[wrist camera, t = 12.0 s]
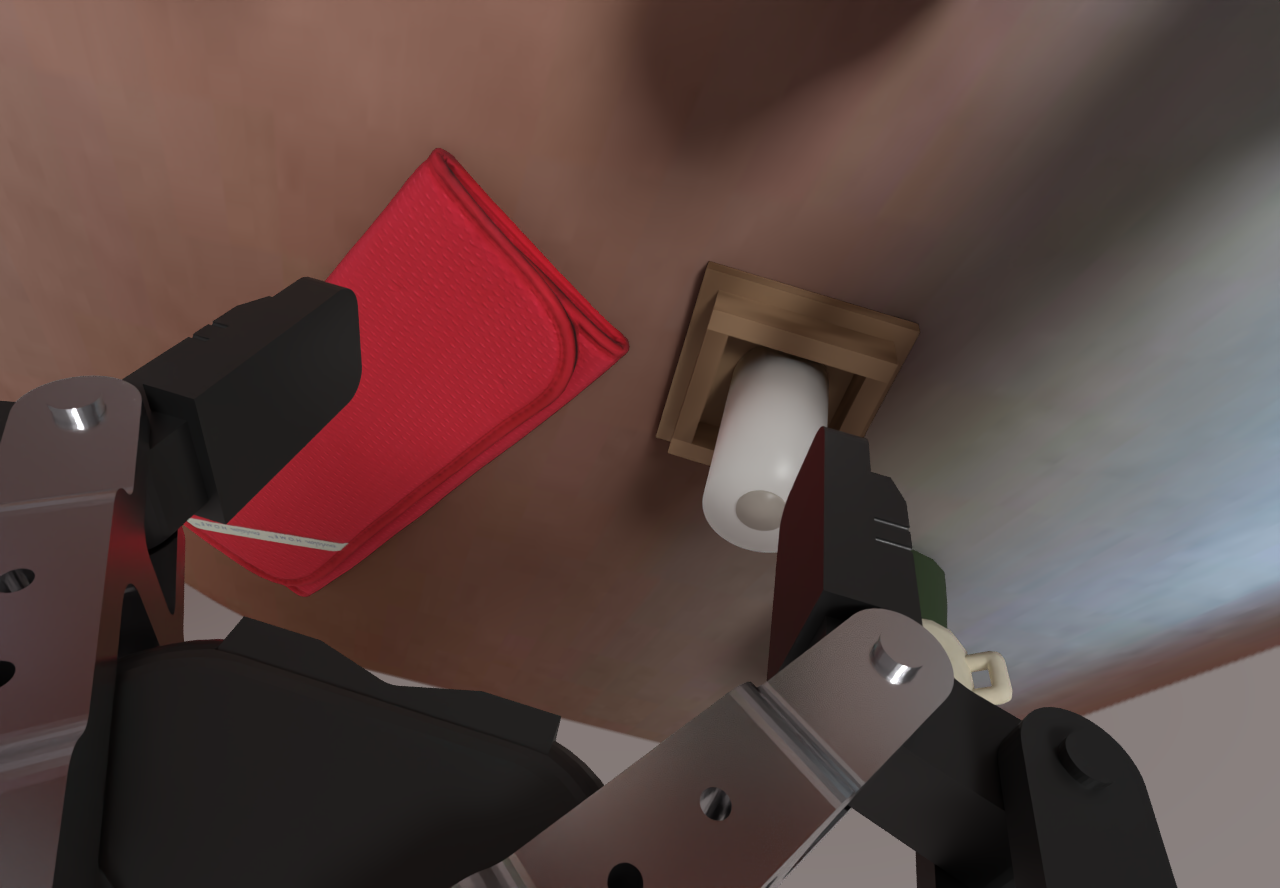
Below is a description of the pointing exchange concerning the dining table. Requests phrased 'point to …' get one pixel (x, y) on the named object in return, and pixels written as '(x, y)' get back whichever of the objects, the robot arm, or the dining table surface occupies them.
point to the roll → (763, 444)
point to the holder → (789, 322)
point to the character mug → (936, 624)
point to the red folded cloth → (423, 379)
